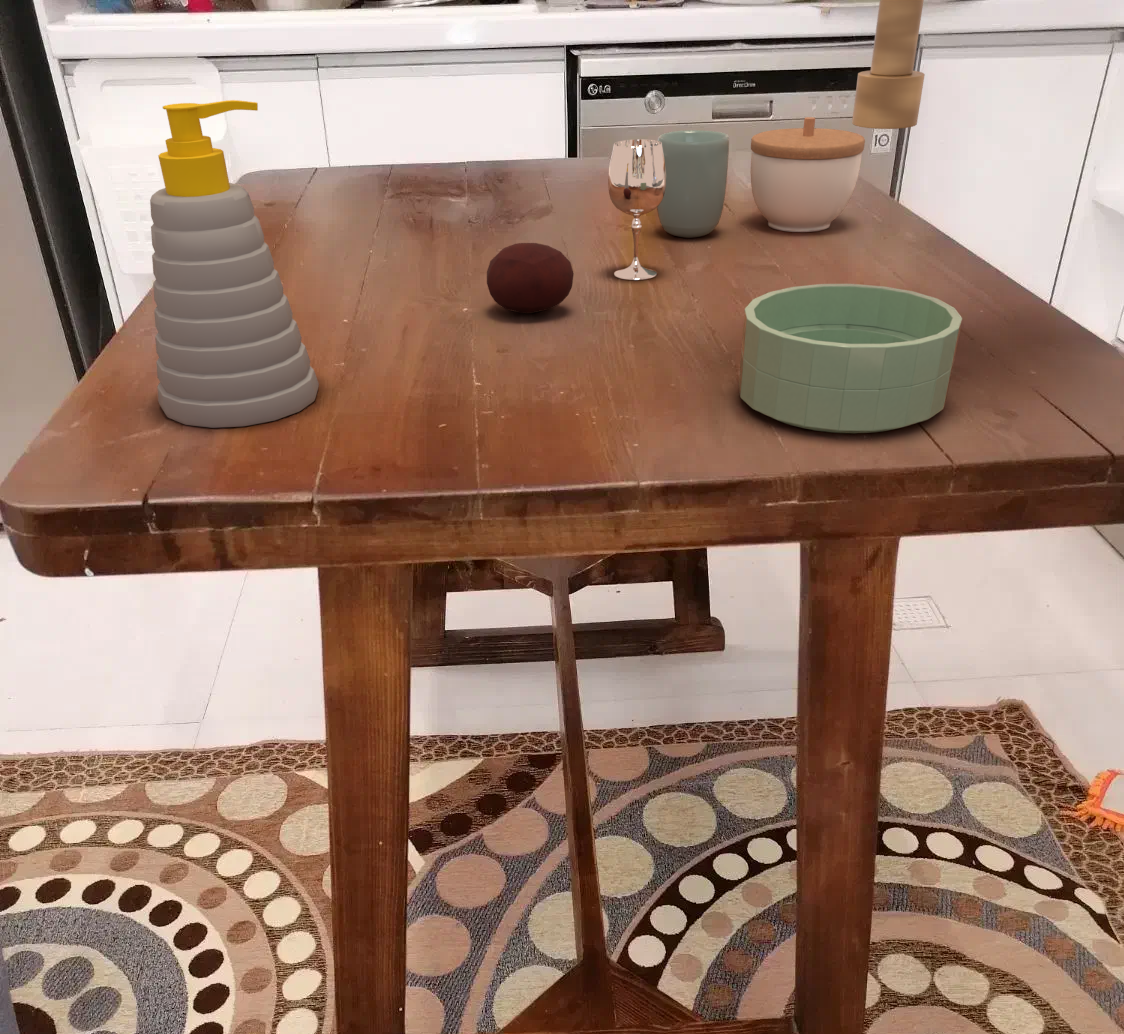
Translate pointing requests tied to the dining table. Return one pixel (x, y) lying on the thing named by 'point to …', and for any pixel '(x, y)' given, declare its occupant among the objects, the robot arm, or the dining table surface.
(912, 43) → the muddler
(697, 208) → the cup
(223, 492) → the dining table surface
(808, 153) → the lidded bowl
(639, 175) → the wineglass
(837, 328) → the mixing bowl
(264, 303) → the soap bottle
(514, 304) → the potato
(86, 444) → the dining table surface
